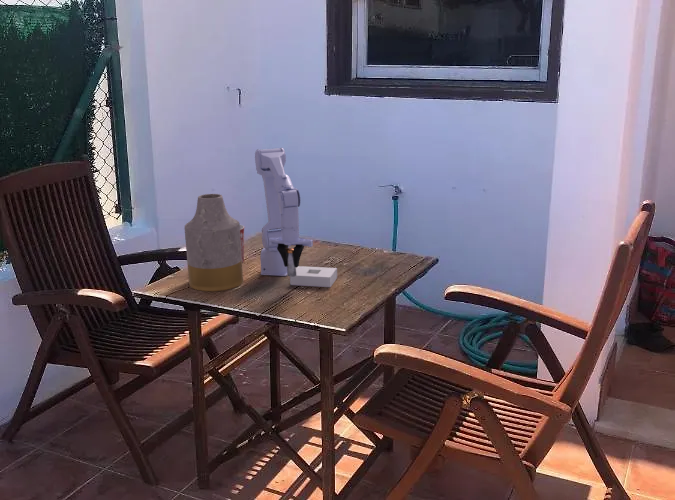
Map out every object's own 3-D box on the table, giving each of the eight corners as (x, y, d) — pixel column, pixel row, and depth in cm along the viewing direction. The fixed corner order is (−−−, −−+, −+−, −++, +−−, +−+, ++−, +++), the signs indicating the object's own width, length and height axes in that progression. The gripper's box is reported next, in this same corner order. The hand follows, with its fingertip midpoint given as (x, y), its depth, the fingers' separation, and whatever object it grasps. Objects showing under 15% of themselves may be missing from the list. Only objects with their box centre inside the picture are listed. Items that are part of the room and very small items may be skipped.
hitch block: (290, 284, 247) (289, 275, 246) (298, 275, 256) (298, 266, 255) (330, 287, 244) (330, 277, 243) (337, 277, 253) (336, 268, 252)
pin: (286, 276, 240) (285, 250, 238) (288, 273, 243) (287, 247, 240) (295, 276, 240) (294, 250, 237) (297, 273, 242) (296, 248, 240)
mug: (251, 260, 275) (249, 225, 271) (237, 266, 267) (234, 231, 264) (224, 255, 281) (222, 222, 277) (209, 262, 273) (207, 227, 269)
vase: (196, 295, 239) (188, 204, 231) (184, 278, 256) (176, 193, 247) (249, 286, 246) (244, 198, 238) (234, 271, 262) (229, 188, 254)
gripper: (264, 228, 234) (266, 268, 238) (308, 230, 231) (309, 271, 235) (271, 223, 241) (273, 262, 245) (314, 224, 238) (315, 264, 242)
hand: (291, 266), depth 241 cm, fingers closed on pin, 3 cm apart
